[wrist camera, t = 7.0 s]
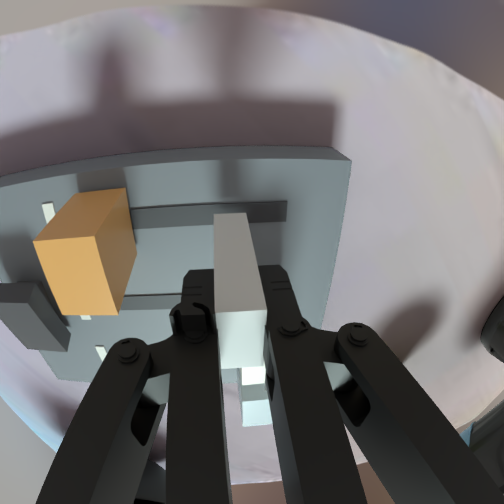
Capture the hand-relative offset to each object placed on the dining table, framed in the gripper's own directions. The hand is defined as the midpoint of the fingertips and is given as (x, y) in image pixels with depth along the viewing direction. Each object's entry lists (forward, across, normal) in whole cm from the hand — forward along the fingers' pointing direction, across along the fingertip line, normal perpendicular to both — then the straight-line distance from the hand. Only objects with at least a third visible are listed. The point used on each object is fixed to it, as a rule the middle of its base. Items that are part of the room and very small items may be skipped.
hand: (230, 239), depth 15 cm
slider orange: (+2, +7, 0) cm, 7 cm away
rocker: (0, +14, +6) cm, 15 cm away
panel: (+5, +5, +6) cm, 10 cm away
